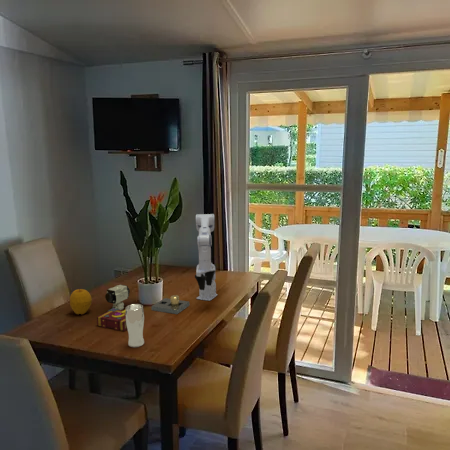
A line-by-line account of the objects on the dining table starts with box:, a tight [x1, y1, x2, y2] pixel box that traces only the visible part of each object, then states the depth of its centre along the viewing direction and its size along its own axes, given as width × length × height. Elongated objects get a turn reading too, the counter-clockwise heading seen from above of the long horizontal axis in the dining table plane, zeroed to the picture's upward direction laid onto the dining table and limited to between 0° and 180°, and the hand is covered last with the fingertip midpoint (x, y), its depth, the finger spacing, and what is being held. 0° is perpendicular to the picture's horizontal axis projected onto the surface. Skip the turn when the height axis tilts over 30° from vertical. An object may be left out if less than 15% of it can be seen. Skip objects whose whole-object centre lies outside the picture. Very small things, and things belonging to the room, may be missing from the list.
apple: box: [69, 288, 93, 315], centre depth 186 cm, size 10×10×12 cm
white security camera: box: [104, 284, 131, 310], centre depth 190 cm, size 6×12×12 cm, turn 149°
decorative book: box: [96, 307, 128, 332], centre depth 174 cm, size 11×16×5 cm
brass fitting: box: [170, 294, 180, 307], centre depth 191 cm, size 4×4×6 cm
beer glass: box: [125, 303, 145, 348], centre depth 154 cm, size 7×7×15 cm
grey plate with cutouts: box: [151, 297, 190, 315], centre depth 192 cm, size 12×14×2 cm
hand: (205, 287), depth 189 cm, fingers open, 7 cm apart
